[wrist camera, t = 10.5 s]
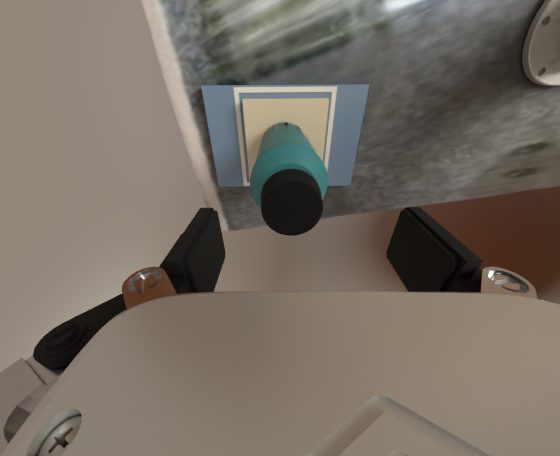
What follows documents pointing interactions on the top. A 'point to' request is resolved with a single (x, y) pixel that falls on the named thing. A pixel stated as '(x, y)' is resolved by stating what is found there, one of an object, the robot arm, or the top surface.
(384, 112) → the top surface
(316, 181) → the beverage bottle
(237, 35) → the top surface
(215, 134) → the board
